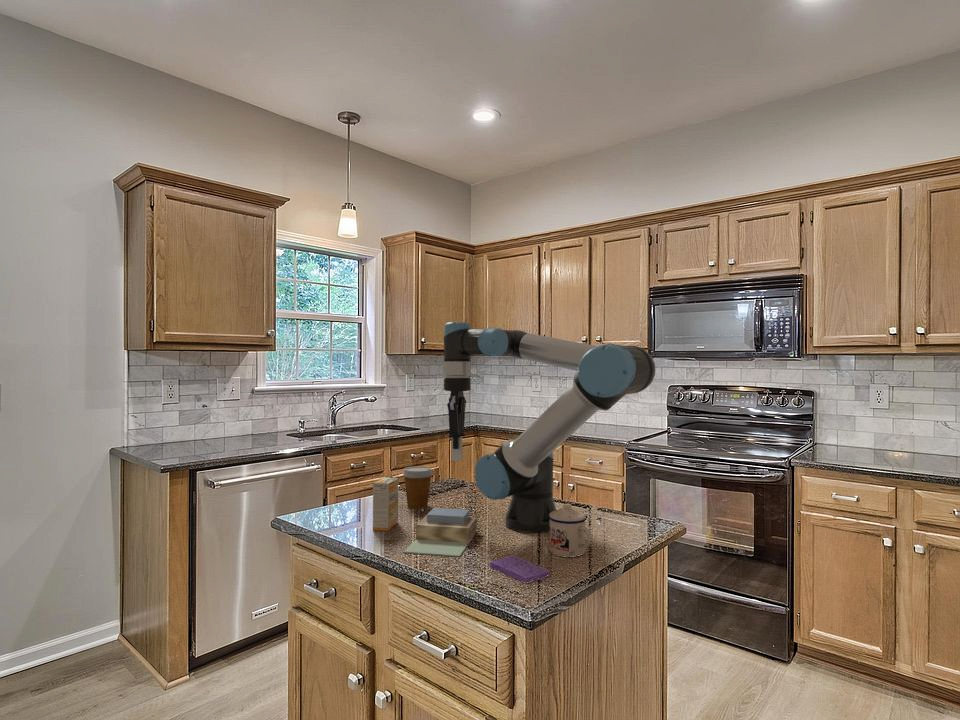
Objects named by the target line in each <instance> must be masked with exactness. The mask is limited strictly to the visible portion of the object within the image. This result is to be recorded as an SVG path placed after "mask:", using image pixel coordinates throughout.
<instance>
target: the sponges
mask: <svg viewBox="0 0 960 720" xmlns="http://www.w3.org/2000/svg"><path fill="white" fill-rule="evenodd" d="M489 567H490V568H492V569H495V570H497V571H499V572H501V573H502V574H505V575H506V576H509V577H511V578H514V579H515V580H517V579H518V581H519V580H520V581H519V582H521V581H523V582H525V583H527V582H530V581H532V580H536V579H538V578H542V577H545V576H547V575H549V576H550V569H547V568H544V567H541V566H538V565H536V564H535V563H532V562H530V561H528V560H525V559H523V558H521V557H518V556H517V555H514V554H512V555H509V556H505V557H503V558H499V559H495V560H492V561H490V566H489ZM542 579H543V578H542ZM536 581H537V580H536ZM523 582H522V583H523ZM525 583H524V584H525ZM530 583H531V582H530ZM527 584H528V583H527Z"/></svg>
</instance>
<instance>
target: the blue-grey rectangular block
mask: <svg viewBox="0 0 960 720" xmlns="http://www.w3.org/2000/svg"><path fill="white" fill-rule="evenodd" d="M470 511H471V510H470V509H465V508H463V509H461V508H443V507H441V508H440V507H434V508H432V509H431V510H430V511H429V512H427V514H426V515H427V522H433V523H449V524H464V523H465V522H466V521H467V520H468V518H469V517H471V516H470V515H471V514H470Z"/></svg>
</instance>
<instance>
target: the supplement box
mask: <svg viewBox="0 0 960 720" xmlns="http://www.w3.org/2000/svg"><path fill="white" fill-rule="evenodd" d="M398 523H399V478H398V477H382V478H380V479H378V480H376V481H374V482H372V531H383V532H388V531H389V530H391V529H392V528H393V527H394V526H396V525H397V524H398Z"/></svg>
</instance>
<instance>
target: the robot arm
mask: <svg viewBox="0 0 960 720" xmlns="http://www.w3.org/2000/svg"><path fill="white" fill-rule="evenodd" d="M443 330H444V331H443V356H444V357H443V365H442V366H441V367H442V369H443V375H444V376H445V377H444V379H443V390H444V391H445V392H450V396H449V397H448V402H447V404H446V405H447V412H448V413H447V414H448V427H449V435H448V438H451V461H457V462H459V461H462V460H463V437H466V433H465V421H466V420H465V419H466V405H467V400H466V397H465V394H464V392H469V391H470V390H471V378H470V377H469V376H471V373H472V372H471V357H473V356H474V357H475V356H476V357H512V358H518V359H523V360H528V361H531V362H536V363H541V364H544V365H548V366H554V367H557V368H563V369H566V370H571V371H574V373H573V376H572V384H571V385H570V386H569V387H568V388H567V389H566V390H565V391H564V392H563V393H562V394H561V395H560V396H559V397H558V398H557V399H556V400H555V401H554V402H552V404H550V406H549V407H547V409H546V410H544V411H543V413H541V414H540V416H539V417H537V419H535V420H534V421H533V422H532V423H531V424H530V425H529V426H528V427H527V428H526V429H525V430H524V431H523V432H522V433H521V434H520V435H519V436H518V437H517V438H516V439H508V440H507V439H506V441H504V442H503V443H502V444H501V445H500V446H499V447H498V448H497V449H496V450H495V451H494V452H493V453H491V454H490V453H488V454H485V455H482V456H481V457H479V459H478V460H477V461H476V464H475V467H474V480H475V484H476V486H477V488H478V490H479V491H480V493H481V494H482V495H483V496H484V497H486V498H488V499H490V500H493V501H494V500H504V499H506V498H508V497H511V498H510V501H509V505H508V508H507V510H506V515H505V525H506V526H505V527H506V528H509V529H512V530H514V531H519V532H524V533H525V532H526V533H546V532H550V519H549V514H550V513H551V512H553V511H556V510H557V506H556V504H555V500H554V497H553V496H554V455H553V454H554V453H553V452H554V451H555V450H556V449H558V448H559V447H560V446H561V444H563V443H564V442H565V441H566V440H567V439H568V438H570V436H572V434H574V433H575V432H576V431H577V430H578V429H580V428H581V427H582V426H583V425H584V424H585V423H586V422H587V421H588V420H589V419H591V417H592V416H594V415H595V414H596V413H597V412H598V411H605V412H606V411H609V410H610V409H611V408H613V406H614V405H616V404H617V403H618V402H619V401H620V400H621V399H623V398H624V397H625V396H627V395H631V394H638V393H640V392H642V391H645V390H646V389H647V388H648V387H649V386H651V384H652V382H653V381H654V379H655V376H656V364H655V361H654V359H653V357H652V355H651V353H649V352H648V351H647V350H645V349H644V348H642V347H640V346H637V345H620V344H616V343H615V344H614V343H607V344H606V343H605V344H601V345H593V344H587V343H583V342H577V341H572V340H567V339H561V338H557V337H553V336H552V337H551V336H545V335H541V334H534V333H529V332H526V331H523V330H518V329H514V330H511V329H509V330H508V329H506V330H505V329H503V328H502V329H501V328H499V327H498V328H497V327H487V328H485V327H484V328H471V324H470V323H469V322H466V321H465V322H463V321H462V322H461V321H451V322H447V323H445V325H444V329H443Z"/></svg>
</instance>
